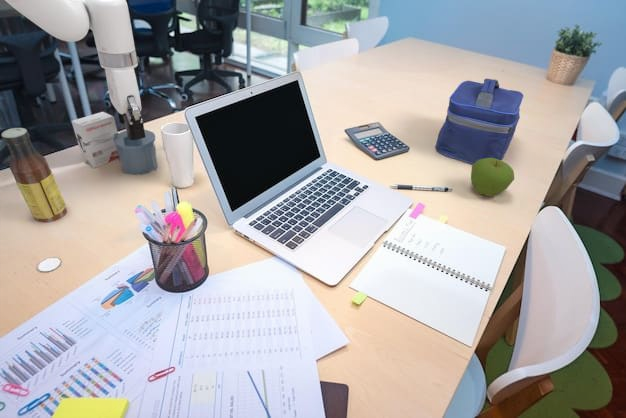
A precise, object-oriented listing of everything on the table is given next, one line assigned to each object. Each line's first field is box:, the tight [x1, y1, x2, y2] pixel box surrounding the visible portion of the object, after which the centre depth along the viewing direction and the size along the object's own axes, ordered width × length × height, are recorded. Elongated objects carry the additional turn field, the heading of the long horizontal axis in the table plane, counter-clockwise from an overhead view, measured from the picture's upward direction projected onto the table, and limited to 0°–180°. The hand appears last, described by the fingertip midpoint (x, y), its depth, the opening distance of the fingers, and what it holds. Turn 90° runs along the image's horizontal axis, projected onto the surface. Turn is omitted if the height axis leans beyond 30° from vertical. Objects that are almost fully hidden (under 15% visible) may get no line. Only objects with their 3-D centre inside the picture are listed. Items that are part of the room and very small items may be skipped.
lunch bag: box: [434, 78, 524, 165], centre depth 125 cm, size 31×21×20 cm
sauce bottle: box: [1, 127, 68, 223], centre depth 78 cm, size 6×6×20 cm
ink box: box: [71, 111, 119, 169], centre depth 100 cm, size 9×5×12 cm, turn 144°
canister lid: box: [113, 113, 156, 149], centre depth 95 cm, size 10×10×7 cm
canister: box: [116, 141, 159, 176], centre depth 99 cm, size 9×9×8 cm
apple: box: [470, 158, 515, 197], centre depth 104 cm, size 11×10×10 cm
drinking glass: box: [160, 121, 195, 189], centre depth 93 cm, size 7×7×15 cm
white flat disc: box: [36, 256, 63, 274], centre depth 72 cm, size 4×4×1 cm
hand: (132, 130), depth 95 cm, fingers open, 9 cm apart
